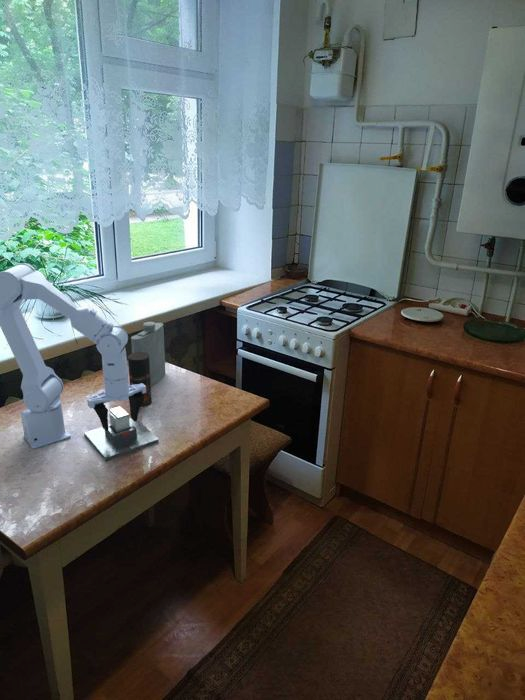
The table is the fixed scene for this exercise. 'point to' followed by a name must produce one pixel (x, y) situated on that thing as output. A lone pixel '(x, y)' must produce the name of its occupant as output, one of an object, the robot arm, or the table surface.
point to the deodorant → (140, 374)
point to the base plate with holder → (120, 440)
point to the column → (119, 420)
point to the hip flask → (152, 348)
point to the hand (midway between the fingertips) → (120, 424)
